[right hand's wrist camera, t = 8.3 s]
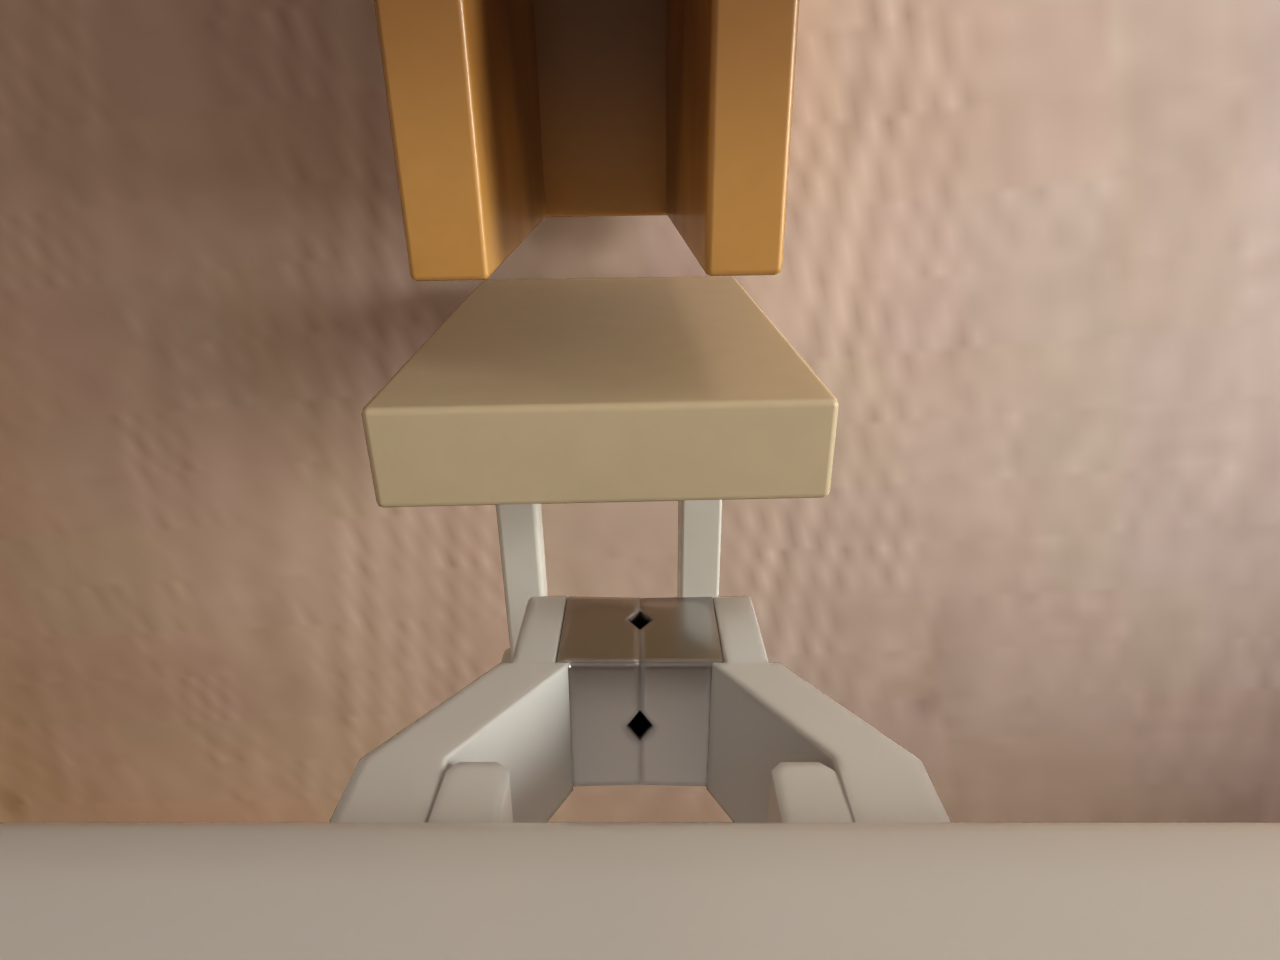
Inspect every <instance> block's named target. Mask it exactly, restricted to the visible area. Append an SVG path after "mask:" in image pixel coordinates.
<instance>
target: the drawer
mask: <svg viewBox="0 0 1280 960" xmlns="http://www.w3.org/2000/svg"><path fill="white" fill-rule="evenodd" d="M374 5H375V12H376V20H377V27H378V35H379V42H380V50H381V57H382V65H383V72H384V79H385V87H386V94H387V102H388V109H389V117H390V124H391V132H392V139H393V147H394V154H395V162H396V169H397V177H398V184H399V191H400V199H401V206H402V214H403V221H404V229H405V236H406V244H407V251H408V259H409V266H410V274H411V276H412V278H413V279H414V280H416V281H441V280H485V279H487V278H489V277H490V275H491V274H492V273H493V272H494V271H495V270H496V269H497V268H498V267H499V266H500V265H501V264H502V262H503V261H504V260H505V259H506V258H507V257H508V256H509V255H510V254H511V253H512V252H513V251H514V249H515V248H516V247H517V246H518V245H519V244H520V243H521V242H522V241H523V240H524V239H525V238H526V236H527V235H528V234H529V233H530V232H531V231H532V230H533V229H534V228H535V227H536V226H537V225H538V223H539V222H540V221H541V220H542V219H543V218H544V217H570V216H638V215H668V216H669V218H670V219H671V221H672V223H673V224H674V226H675V227H676V229H677V230H678V232H679V233H680V235H681V236H682V238H683V239H684V241H685V242H686V244H687V245H688V247H689V248H690V250H691V251H692V253H693V254H694V256H695V257H696V259H697V260H698V262H699V263H700V265H701V266H702V268H703V269H704V271H705V272H706V274H708V275H711V276H709V277H648V278H587V279H526V280H485V281H483V282H482V283H481V284H480V285H479V286H478V287H477V288H476V289H475V290H474V291H473V292H472V293H471V294H470V295H469V297H468V298H467V299H466V300H465V301H464V302H463V303H462V304H461V305H460V306H459V307H458V308H457V309H456V310H455V311H454V313H453V314H452V315H451V316H450V317H449V318H448V319H447V320H446V321H445V322H444V323H443V324H442V325H441V326H440V327H439V328H438V330H437V331H436V332H435V333H434V334H433V335H432V336H431V337H430V338H429V339H428V340H427V341H426V342H425V343H424V344H423V346H422V347H421V348H420V349H419V350H418V351H417V352H416V353H415V354H414V355H413V356H412V357H411V358H410V359H409V360H408V361H407V363H406V364H405V365H404V366H403V367H402V368H401V369H400V370H399V371H398V372H397V373H396V374H395V375H394V376H393V377H392V379H391V380H390V381H389V382H388V383H387V384H386V385H385V386H384V387H383V388H382V389H381V390H380V391H379V392H378V393H377V394H376V396H375V397H374V398H373V399H372V400H371V401H370V402H369V403H368V404H367V405H366V406H365V407H364V408H363V411H362V420H363V426H364V432H365V437H366V443H367V449H368V455H369V461H370V466H371V472H372V478H373V484H374V489H375V495H376V501H377V503H378V505H379V506H381V507H419V506H463V505H496V512H497V522H498V532H499V542H500V551H501V561H502V571H503V581H504V591H505V601H506V611H507V621H508V631H509V641H510V648H508V649H506V650H505V652H504V655H503V658H502V663H511V662H512V658H513V654H514V651H515V647H516V643H517V640H518V636H519V632H520V628H521V625H522V621H523V617H524V614H525V610H526V606H527V603H528V600H529V599H530V598H531V597H533V596H548V594H547V580H546V566H545V553H544V539H543V525H542V512H541V504H552V503H596V502H641V501H678V587H677V597H718V596H719V569H720V542H721V515H722V500H729V499H774V498H818V497H826V496H828V494H829V491H830V485H831V475H832V465H833V455H834V446H835V436H836V426H837V416H838V407H839V404H838V401H837V399H836V398H835V397H834V395H833V394H832V393H831V392H830V391H829V390H828V388H827V387H826V386H825V385H824V384H823V382H822V381H821V380H820V379H819V378H818V376H817V375H816V374H815V373H814V372H813V371H812V369H811V368H810V367H809V366H808V365H807V363H806V362H805V361H804V360H803V359H802V358H801V356H800V355H799V354H798V353H797V352H796V350H795V349H794V348H793V347H792V346H791V344H790V343H789V342H788V341H787V340H786V339H785V337H784V336H783V335H782V334H781V333H780V331H779V330H778V329H777V328H776V327H775V325H774V324H773V323H772V322H771V321H770V320H769V318H768V317H767V316H766V315H765V314H764V312H763V311H762V310H761V309H760V308H759V307H758V305H757V304H756V303H755V302H754V301H753V299H752V298H751V297H750V296H749V295H748V293H747V292H746V291H745V290H744V289H743V288H742V286H741V285H740V284H739V283H738V282H737V280H736V279H735V278H734V277H732V276H734V275H775V274H778V273H780V271H781V269H782V261H783V246H784V230H785V215H786V199H787V184H788V168H789V153H790V137H791V122H792V107H793V91H794V76H795V60H796V45H797V29H798V14H799V0H374Z"/></svg>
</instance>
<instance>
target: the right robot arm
mask: <svg viewBox="0 0 1280 960" xmlns="http://www.w3.org/2000/svg"><path fill="white" fill-rule="evenodd" d="M638 784H640V785H676V786H707V790H708V791H709V792H710V794H711V795H712V796H713V797H714V799H715V800H716V801H717V802H718V804H719V805H720V806H721V807H722V809H723V810H724V811H725V812H726V813H727V815H728V816H729V817H730V818H731V820H732V821H733V822H734V823H547V822H548V820H549V819H550V818H551V817H552V815H553V814H554V813H555V812H556V810H557V809H558V808H559V807H560V805H561V804H562V803H563V802H564V801H565V799H566V798H567V797H568V796H569V794H570V793H571V792H572V791H573V786H602V785H638ZM0 960H1280V823H951V821H950V819H949V817H948V815H947V813H946V811H945V809H944V807H943V805H942V803H941V801H940V799H939V797H938V794H937V792H936V790H935V788H934V786H933V784H932V782H931V780H930V778H929V776H928V774H927V772H926V770H925V768H924V766H923V764H922V762H921V760H920V759H919V758H917V757H916V756H914V755H913V754H911V753H910V752H908V751H907V750H905V749H904V748H903V747H901V746H900V745H898V744H897V743H895V742H894V741H892V740H891V739H889V738H888V737H887V736H885V735H884V734H882V733H881V732H879V731H878V730H876V729H875V728H873V727H872V726H871V725H869V724H868V723H866V722H865V721H863V720H862V719H860V718H859V717H857V716H856V715H854V714H853V713H852V712H850V711H849V710H847V709H846V708H844V707H843V706H841V705H840V704H838V703H837V702H836V701H834V700H833V699H831V698H830V697H828V696H827V695H825V694H824V693H822V692H821V691H820V690H818V689H817V688H815V687H814V686H812V685H811V684H809V683H808V682H806V681H805V680H804V679H802V678H801V677H799V676H798V675H796V674H795V673H793V672H792V671H790V670H789V669H788V668H786V667H785V666H783V665H782V664H780V663H769V662H768V658H767V654H766V651H765V647H764V643H763V640H762V636H761V633H760V629H759V625H758V622H757V618H756V614H755V611H754V607H753V603H752V600H751V598H750V597H749V596H726V597H677V598H622V597H568V598H567V597H566V596H533V597H531V598H530V599H529V600H528V603H527V606H526V610H525V614H524V617H523V621H522V625H521V628H520V632H519V636H518V640H517V643H516V647H515V651H514V654H513V658H512V662H511V663H500V664H498V665H497V666H495V667H494V668H493V669H491V670H490V671H488V672H487V673H485V674H484V675H482V676H481V677H479V678H478V679H476V680H475V681H473V682H472V683H471V684H469V685H468V686H466V687H465V688H463V689H462V690H460V691H459V692H457V693H456V694H454V695H453V696H452V697H450V698H449V699H447V700H446V701H444V702H443V703H441V704H440V705H438V706H437V707H435V708H434V709H433V710H431V711H430V712H428V713H427V714H425V715H424V716H422V717H421V718H419V719H418V720H416V721H415V722H414V723H412V724H411V725H409V726H408V727H406V728H405V729H403V730H402V731H400V732H399V733H397V734H396V735H395V736H393V737H392V738H390V739H389V740H387V741H386V742H384V743H383V744H381V745H380V746H378V747H377V748H375V749H374V750H373V751H371V752H370V753H368V754H367V755H365V756H364V757H362V758H361V759H360V760H359V762H358V764H357V766H356V769H355V771H354V773H353V775H352V777H351V779H350V781H349V783H348V785H347V787H346V789H345V791H344V793H343V795H342V797H341V799H340V801H339V803H338V805H337V807H336V809H335V811H334V813H333V815H332V817H331V819H330V821H329V823H0Z"/></svg>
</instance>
